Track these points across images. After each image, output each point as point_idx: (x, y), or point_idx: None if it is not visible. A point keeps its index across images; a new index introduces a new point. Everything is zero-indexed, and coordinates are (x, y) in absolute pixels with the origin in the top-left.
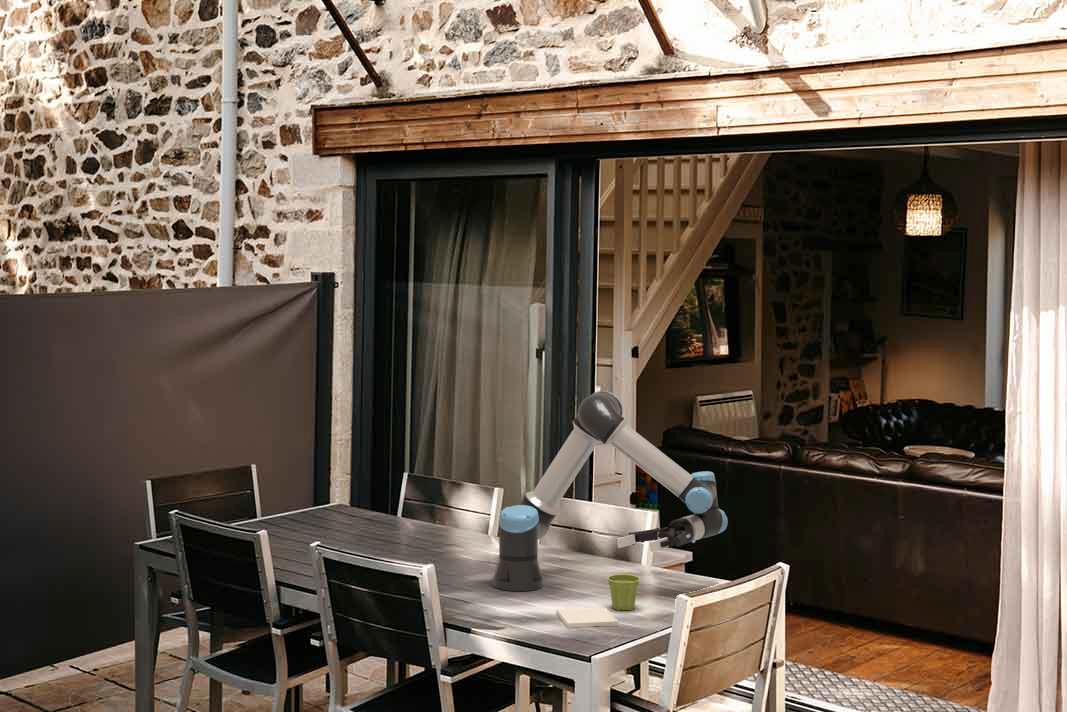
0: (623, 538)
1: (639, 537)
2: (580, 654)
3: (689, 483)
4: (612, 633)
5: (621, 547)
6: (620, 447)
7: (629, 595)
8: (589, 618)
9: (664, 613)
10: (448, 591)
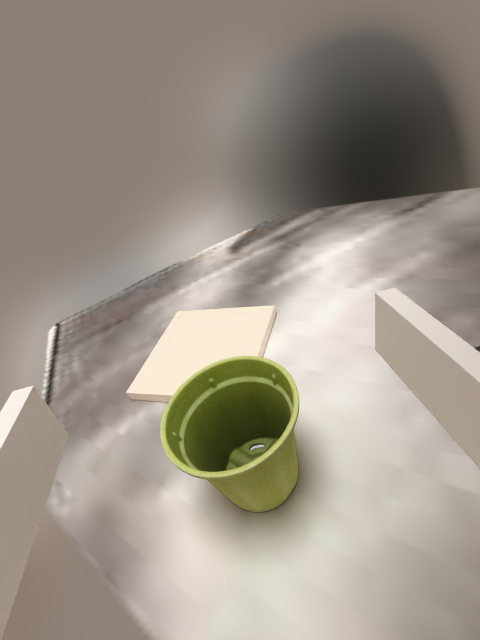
0: (403, 325)
1: None
2: (72, 316)
3: None
4: (103, 375)
5: (385, 360)
6: None
7: (198, 445)
8: (180, 346)
9: (130, 601)
10: None
